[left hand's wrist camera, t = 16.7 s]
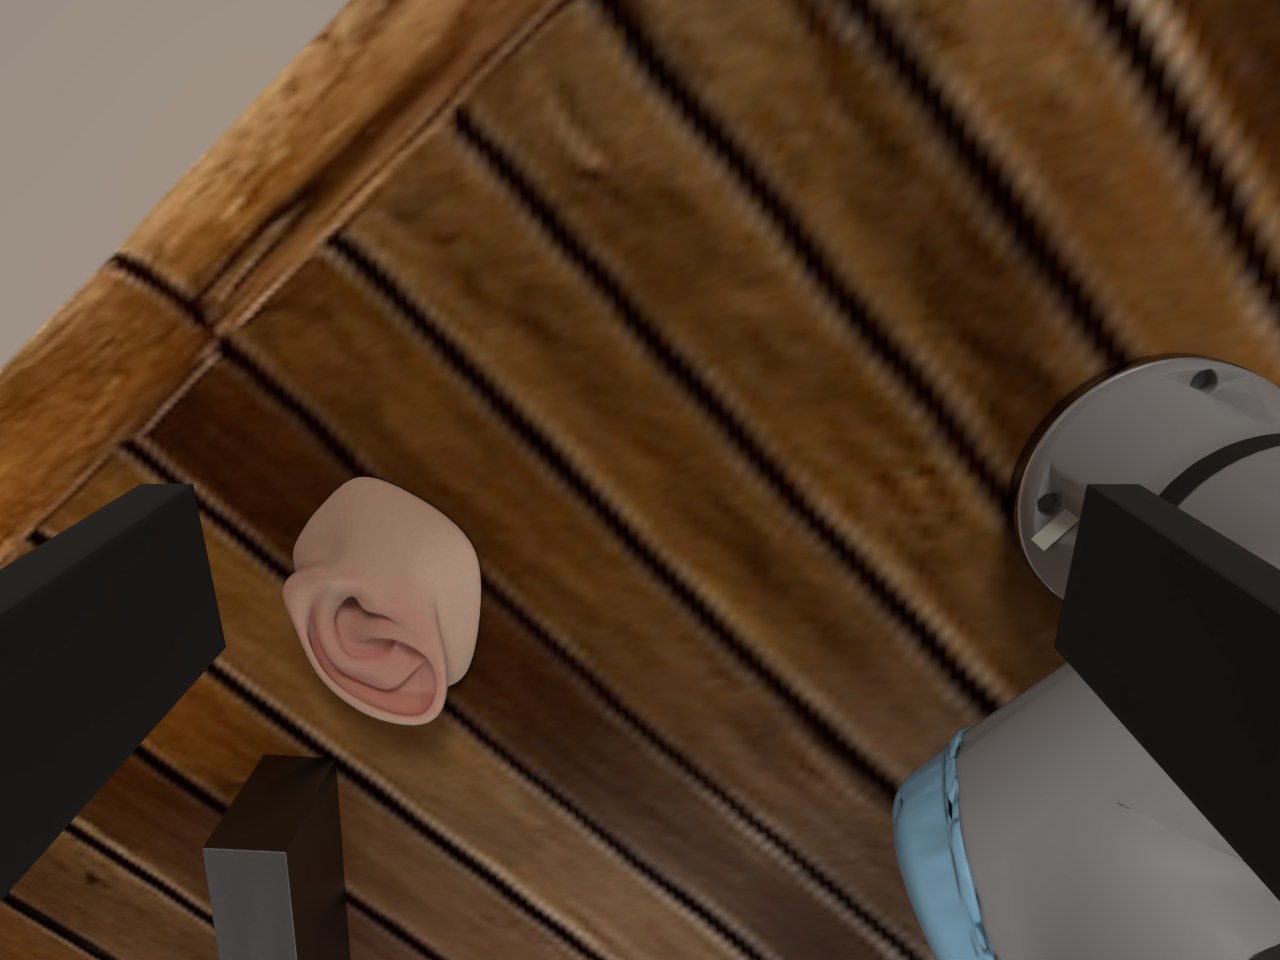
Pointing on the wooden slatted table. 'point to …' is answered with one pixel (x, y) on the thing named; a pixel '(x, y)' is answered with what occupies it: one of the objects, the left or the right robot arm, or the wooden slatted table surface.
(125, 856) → the wooden slatted table surface
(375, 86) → the wooden slatted table surface
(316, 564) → the anatomical model
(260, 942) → the bar
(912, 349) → the wooden slatted table surface
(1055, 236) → the wooden slatted table surface
